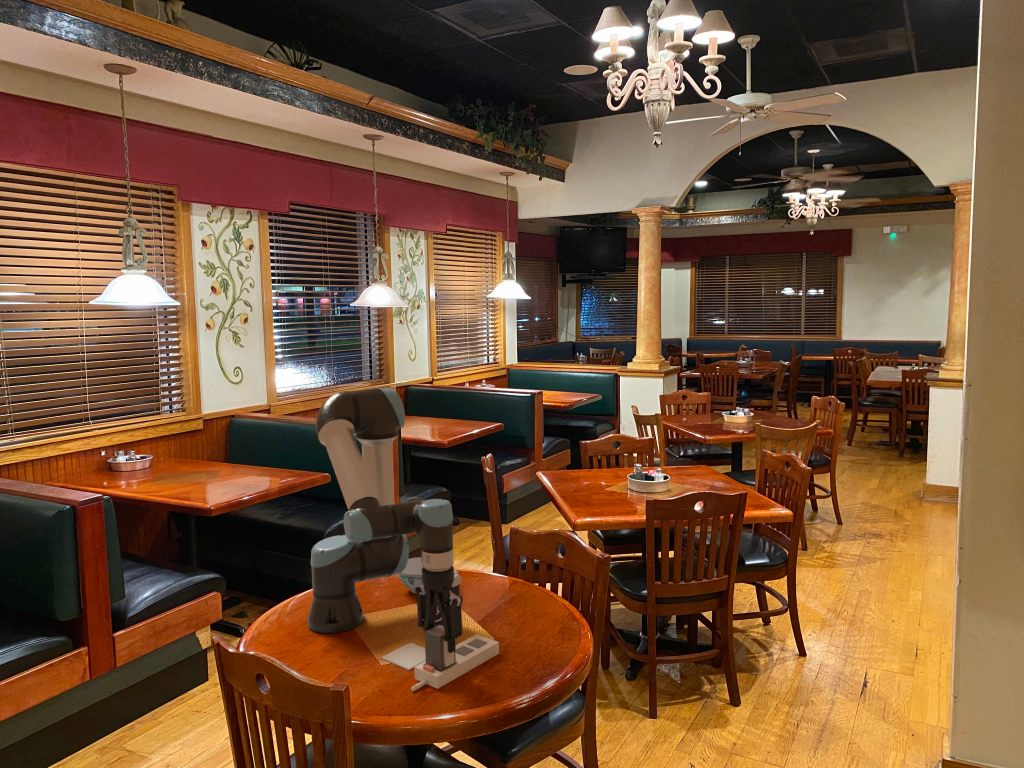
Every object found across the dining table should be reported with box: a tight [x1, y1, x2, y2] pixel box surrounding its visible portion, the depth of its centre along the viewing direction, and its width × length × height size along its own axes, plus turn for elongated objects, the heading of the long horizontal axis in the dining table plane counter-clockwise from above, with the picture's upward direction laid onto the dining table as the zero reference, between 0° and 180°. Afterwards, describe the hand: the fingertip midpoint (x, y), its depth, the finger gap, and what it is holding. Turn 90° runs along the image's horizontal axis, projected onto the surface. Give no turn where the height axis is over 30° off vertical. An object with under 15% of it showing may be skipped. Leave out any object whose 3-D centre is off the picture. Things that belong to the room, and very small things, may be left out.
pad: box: [380, 642, 426, 671], centre depth 192 cm, size 10×10×1 cm
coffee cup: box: [434, 569, 463, 627], centre depth 208 cm, size 10×10×15 cm
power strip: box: [411, 634, 500, 692], centre depth 184 cm, size 26×8×4 cm, turn 141°
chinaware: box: [396, 556, 423, 594], centre depth 235 cm, size 15×15×8 cm
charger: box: [424, 625, 456, 672], centre depth 181 cm, size 5×5×9 cm
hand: (440, 660), depth 181 cm, fingers closed on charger, 5 cm apart
